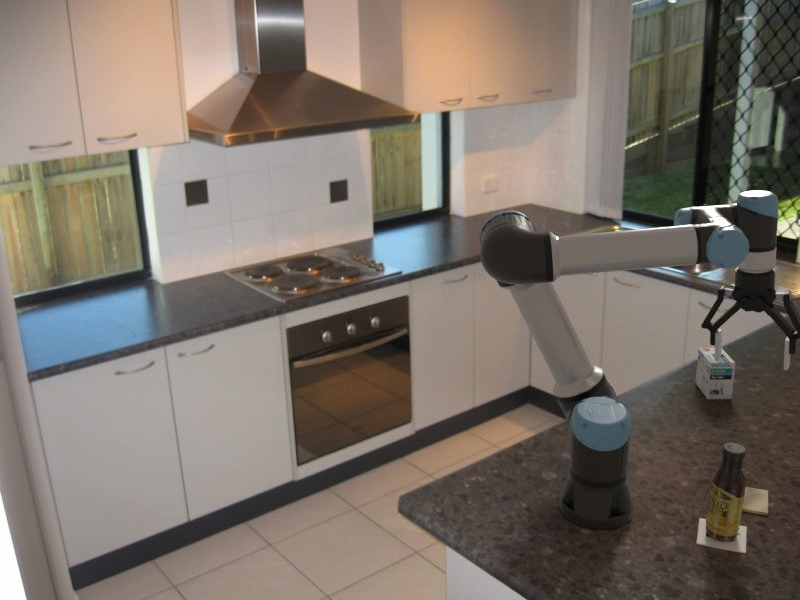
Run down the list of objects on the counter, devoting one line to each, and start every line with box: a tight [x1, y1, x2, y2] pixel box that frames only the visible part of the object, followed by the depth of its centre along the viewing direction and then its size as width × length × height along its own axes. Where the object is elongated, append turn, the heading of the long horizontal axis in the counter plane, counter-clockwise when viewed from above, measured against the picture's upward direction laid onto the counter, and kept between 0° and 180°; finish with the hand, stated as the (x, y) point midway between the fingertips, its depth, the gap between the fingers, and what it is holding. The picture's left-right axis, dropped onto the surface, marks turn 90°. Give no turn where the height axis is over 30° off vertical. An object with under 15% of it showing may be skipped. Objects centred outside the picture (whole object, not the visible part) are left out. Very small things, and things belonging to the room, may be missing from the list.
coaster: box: [742, 486, 769, 516], centre depth 180 cm, size 9×9×1 cm
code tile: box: [696, 517, 748, 555], centre depth 169 cm, size 9×9×1 cm
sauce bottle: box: [705, 442, 747, 542], centre depth 165 cm, size 6×6×20 cm
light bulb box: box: [695, 347, 737, 400], centre depth 228 cm, size 11×7×11 cm, turn 179°
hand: (751, 363), depth 179 cm, fingers open, 13 cm apart
